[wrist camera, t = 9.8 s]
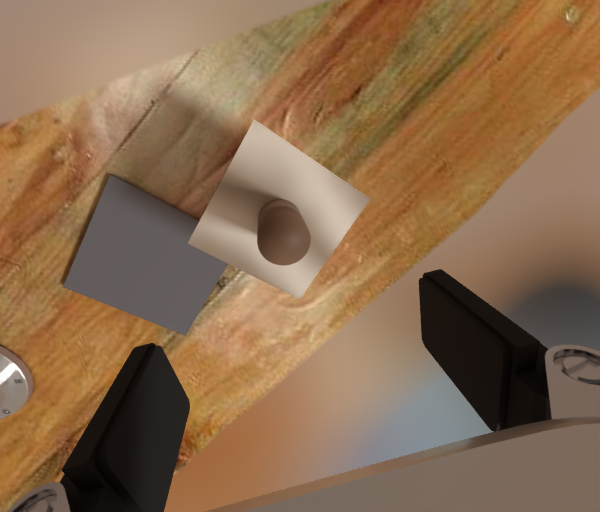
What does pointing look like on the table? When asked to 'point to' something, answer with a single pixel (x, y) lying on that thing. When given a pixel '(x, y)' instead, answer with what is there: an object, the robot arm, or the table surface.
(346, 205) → the lid
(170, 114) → the table surface
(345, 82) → the table surface
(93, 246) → the mat
